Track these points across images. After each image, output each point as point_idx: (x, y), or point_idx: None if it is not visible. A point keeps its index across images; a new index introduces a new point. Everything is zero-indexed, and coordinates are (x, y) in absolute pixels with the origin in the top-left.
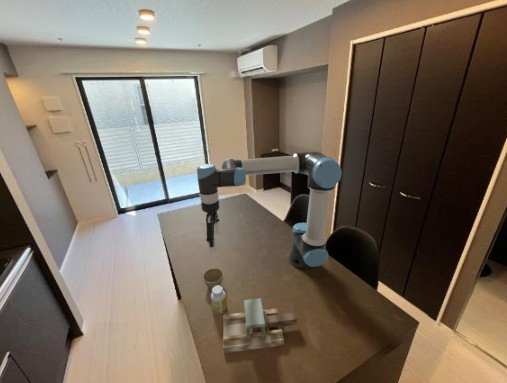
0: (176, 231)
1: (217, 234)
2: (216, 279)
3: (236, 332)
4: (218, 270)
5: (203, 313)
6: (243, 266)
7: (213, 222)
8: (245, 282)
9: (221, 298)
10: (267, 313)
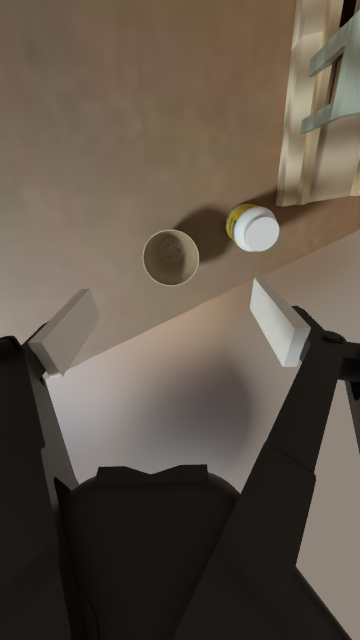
0: None
1: (92, 298)
2: (157, 248)
3: (345, 158)
4: (146, 247)
5: (248, 258)
6: (84, 164)
7: (306, 501)
8: (155, 149)
9: (273, 217)
10: (340, 12)
